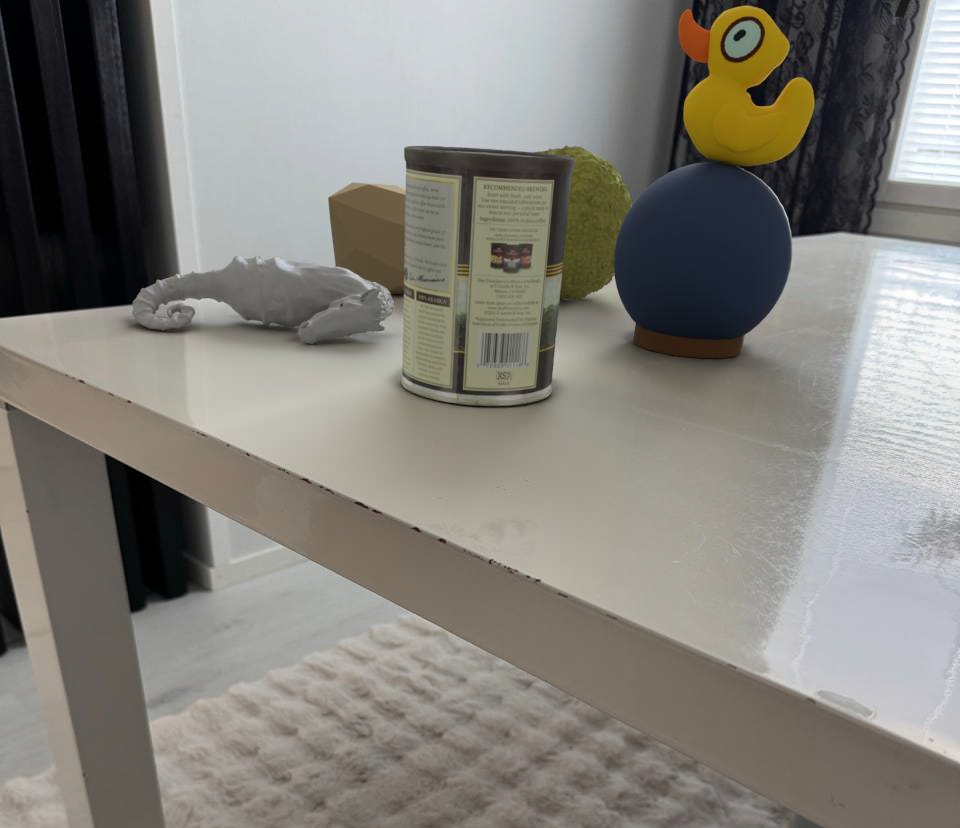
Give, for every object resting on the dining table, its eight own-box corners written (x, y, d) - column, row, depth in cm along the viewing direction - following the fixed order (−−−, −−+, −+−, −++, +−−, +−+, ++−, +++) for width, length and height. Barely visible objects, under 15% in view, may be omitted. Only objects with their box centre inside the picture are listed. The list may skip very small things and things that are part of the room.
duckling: (645, 143, 71) (688, -15, 67) (646, 143, 76) (686, -5, 71) (794, 180, 71) (847, 24, 66) (785, 178, 76) (835, 32, 71)
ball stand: (765, 340, 86) (801, 166, 79) (778, 375, 73) (821, 173, 67) (609, 324, 87) (631, 153, 81) (596, 356, 75) (620, 157, 69)
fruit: (440, 292, 95) (453, 142, 96) (530, 334, 106) (541, 199, 106) (572, 258, 85) (585, 89, 85) (656, 309, 95) (668, 159, 95)
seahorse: (117, 326, 68) (397, 294, 70) (125, 246, 75) (378, 219, 77) (139, 388, 72) (403, 355, 74) (144, 306, 79) (384, 278, 81)
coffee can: (476, 361, 70) (490, 146, 64) (583, 393, 64) (611, 159, 57) (366, 378, 64) (368, 141, 57) (473, 416, 58) (490, 155, 51)
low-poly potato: (297, 289, 94) (322, 245, 83) (317, 183, 94) (345, 126, 84) (438, 334, 99) (480, 299, 89) (457, 233, 100) (500, 186, 89)
